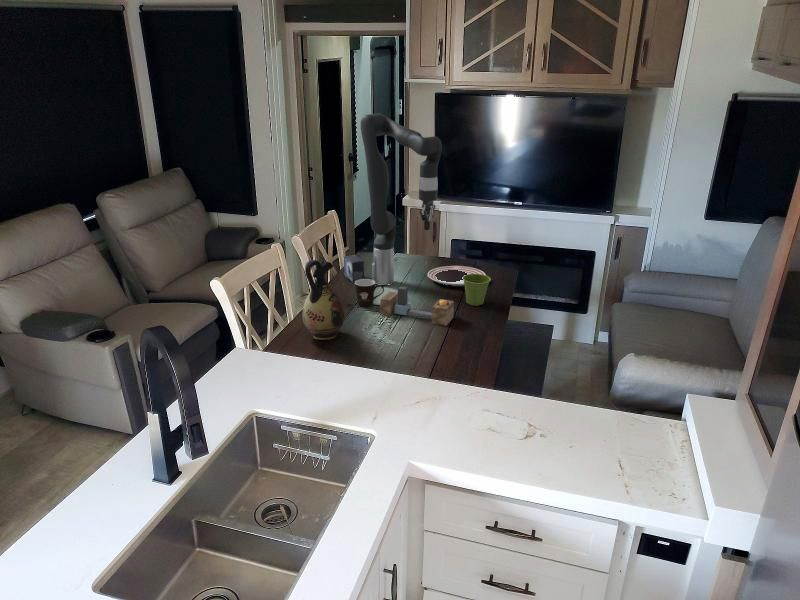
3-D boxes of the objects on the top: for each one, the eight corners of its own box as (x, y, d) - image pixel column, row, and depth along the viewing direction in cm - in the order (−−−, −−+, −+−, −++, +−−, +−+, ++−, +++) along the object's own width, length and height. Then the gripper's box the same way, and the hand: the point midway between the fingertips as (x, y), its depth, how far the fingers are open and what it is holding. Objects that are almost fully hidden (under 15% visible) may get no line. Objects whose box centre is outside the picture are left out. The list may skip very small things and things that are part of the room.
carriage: (394, 313, 238) (394, 289, 235) (399, 308, 243) (399, 285, 239) (406, 315, 237) (406, 290, 233) (410, 310, 241) (410, 286, 237)
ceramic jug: (324, 323, 231) (321, 250, 220) (353, 334, 222) (351, 258, 211) (291, 337, 219) (286, 260, 208) (320, 349, 210) (316, 269, 198)
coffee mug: (351, 306, 247) (350, 283, 244) (361, 299, 254) (361, 277, 251) (375, 311, 242) (374, 288, 239) (385, 304, 249) (385, 282, 246)
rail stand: (380, 314, 239) (380, 298, 236) (389, 307, 247) (389, 291, 244) (446, 325, 229) (447, 309, 226) (453, 317, 237) (453, 301, 234)
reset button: (438, 310, 231) (438, 301, 230) (440, 307, 234) (440, 299, 233) (445, 311, 230) (445, 303, 229) (447, 308, 233) (448, 300, 232)
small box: (343, 277, 282) (342, 256, 278) (355, 275, 284) (355, 254, 281) (352, 283, 273) (351, 262, 269) (365, 281, 276) (364, 260, 272)
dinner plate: (417, 275, 285) (417, 268, 284) (466, 268, 296) (466, 261, 294) (445, 294, 262) (445, 287, 260) (496, 285, 272) (497, 278, 271)
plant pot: (467, 309, 245) (468, 284, 240) (457, 299, 255) (458, 274, 251) (493, 306, 248) (495, 281, 243) (482, 296, 258) (484, 272, 254)
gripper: (425, 184, 244) (424, 225, 251) (413, 190, 233) (413, 232, 239) (442, 185, 242) (440, 226, 248) (431, 191, 230) (430, 234, 237)
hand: (427, 229), depth 244 cm, fingers closed
